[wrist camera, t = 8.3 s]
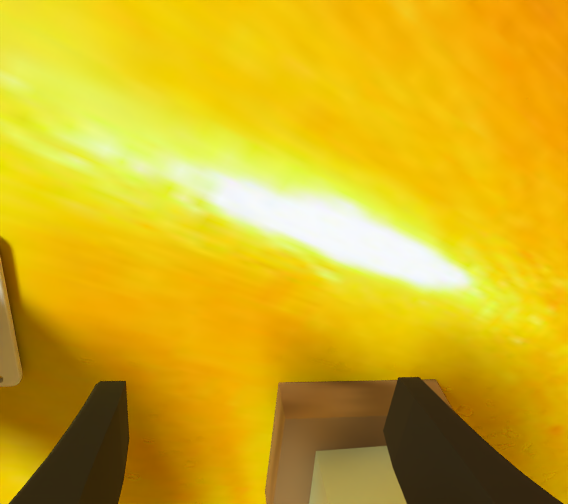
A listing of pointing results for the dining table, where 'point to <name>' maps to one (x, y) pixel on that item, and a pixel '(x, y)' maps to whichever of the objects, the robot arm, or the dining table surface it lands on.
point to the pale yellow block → (355, 477)
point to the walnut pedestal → (324, 429)
